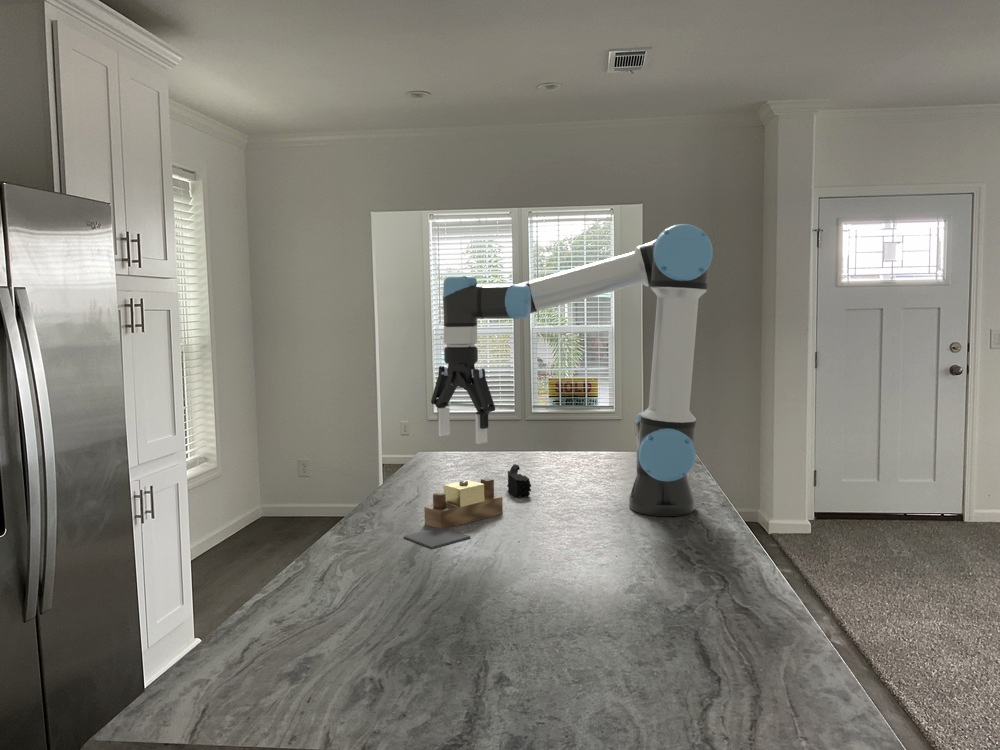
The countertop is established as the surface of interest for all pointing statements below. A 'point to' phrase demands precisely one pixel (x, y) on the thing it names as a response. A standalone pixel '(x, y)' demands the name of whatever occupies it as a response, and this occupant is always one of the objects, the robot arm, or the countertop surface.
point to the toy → (518, 483)
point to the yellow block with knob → (464, 493)
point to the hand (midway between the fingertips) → (462, 439)
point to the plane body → (463, 508)
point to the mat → (436, 537)
